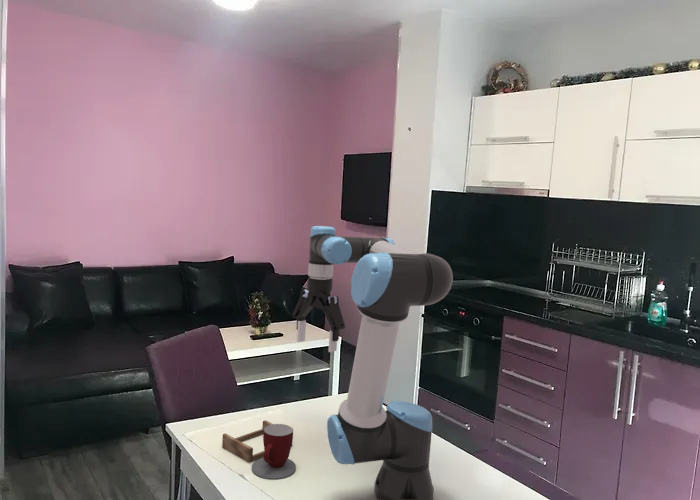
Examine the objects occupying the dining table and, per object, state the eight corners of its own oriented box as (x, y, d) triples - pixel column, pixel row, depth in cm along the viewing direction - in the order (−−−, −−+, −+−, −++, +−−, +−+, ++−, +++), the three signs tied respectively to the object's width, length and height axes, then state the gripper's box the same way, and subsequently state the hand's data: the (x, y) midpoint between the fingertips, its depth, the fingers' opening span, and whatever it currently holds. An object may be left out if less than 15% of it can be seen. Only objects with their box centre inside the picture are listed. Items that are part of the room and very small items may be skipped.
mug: (281, 478, 150) (284, 441, 149) (253, 473, 151) (255, 436, 150) (295, 460, 160) (297, 426, 159) (268, 456, 162) (270, 421, 161)
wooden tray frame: (292, 446, 170) (292, 433, 170) (249, 463, 158) (250, 449, 158) (264, 432, 178) (265, 420, 178) (222, 447, 166) (222, 434, 166)
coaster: (305, 469, 156) (305, 467, 156) (271, 484, 147) (271, 482, 147) (275, 454, 164) (276, 452, 164) (242, 467, 155) (242, 465, 155)
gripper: (359, 282, 167) (355, 353, 169) (300, 270, 184) (297, 335, 186) (342, 284, 162) (337, 357, 164) (283, 272, 178) (279, 339, 180)
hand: (316, 346), depth 175 cm, fingers open, 13 cm apart
